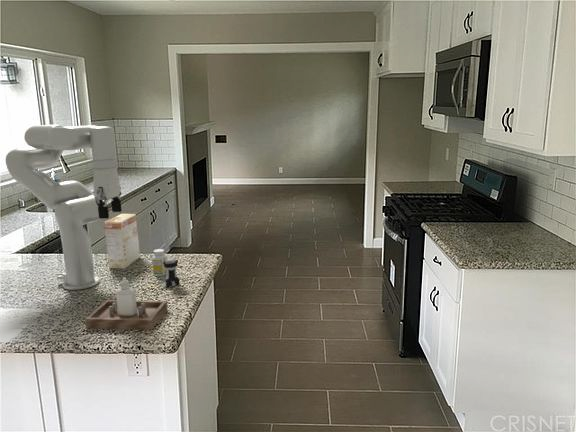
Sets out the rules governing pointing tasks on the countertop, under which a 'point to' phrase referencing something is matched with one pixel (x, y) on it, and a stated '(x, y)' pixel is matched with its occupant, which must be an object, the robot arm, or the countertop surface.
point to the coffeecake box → (122, 240)
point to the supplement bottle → (159, 262)
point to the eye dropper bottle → (126, 299)
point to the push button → (171, 272)
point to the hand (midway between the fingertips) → (110, 214)
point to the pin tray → (142, 320)
